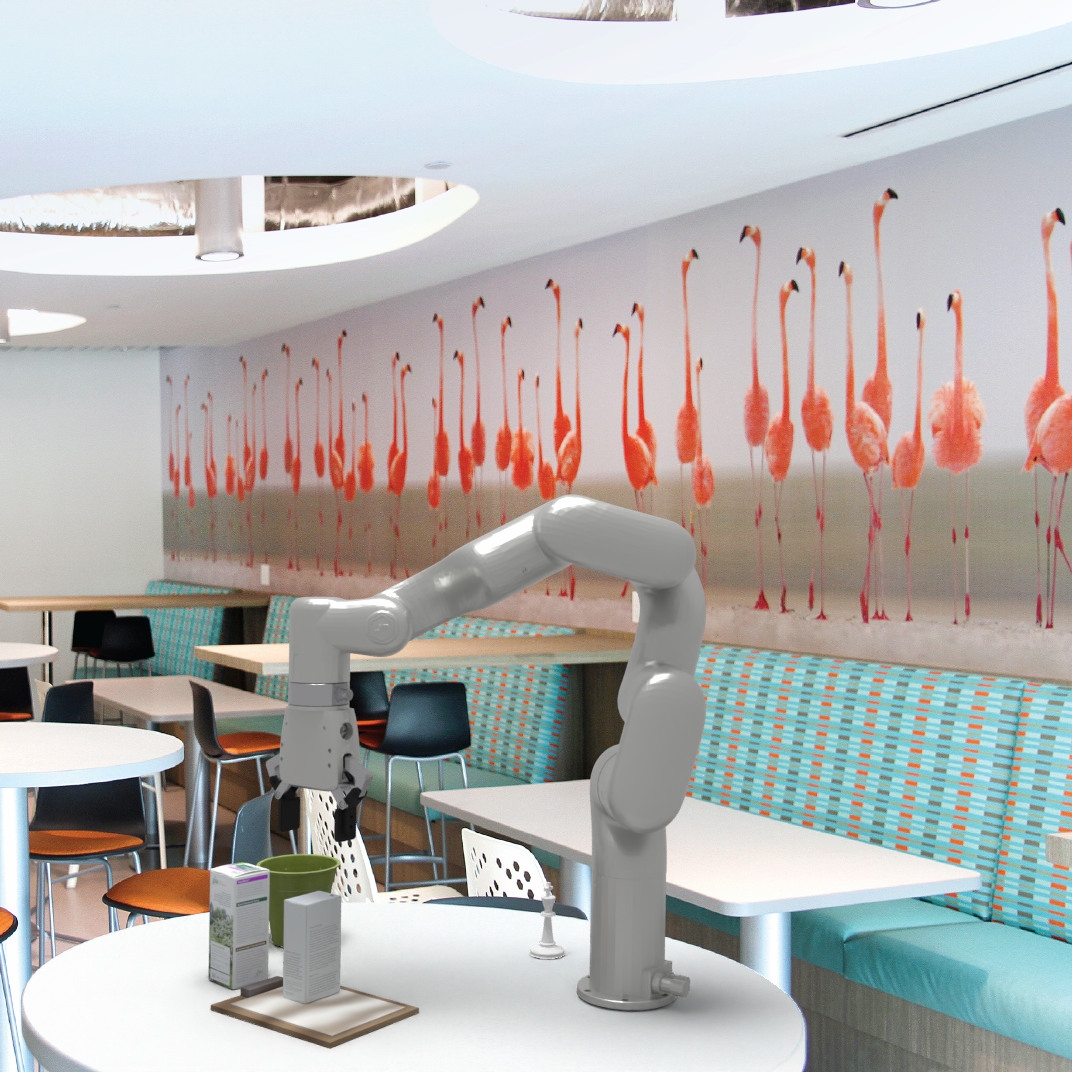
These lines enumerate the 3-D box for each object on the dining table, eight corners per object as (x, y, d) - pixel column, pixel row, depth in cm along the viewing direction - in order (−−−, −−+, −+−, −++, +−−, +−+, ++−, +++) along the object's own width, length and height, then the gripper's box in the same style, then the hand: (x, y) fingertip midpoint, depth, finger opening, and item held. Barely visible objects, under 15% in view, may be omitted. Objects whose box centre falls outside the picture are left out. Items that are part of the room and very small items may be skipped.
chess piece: (571, 953, 182) (572, 881, 182) (552, 962, 178) (554, 888, 178) (541, 947, 185) (543, 876, 185) (522, 955, 181) (524, 883, 181)
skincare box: (316, 985, 163) (319, 889, 164) (340, 992, 161) (343, 895, 161) (280, 997, 158) (282, 898, 159) (304, 1005, 156) (307, 904, 156)
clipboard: (418, 1012, 156) (419, 999, 156) (329, 1048, 144) (330, 1033, 144) (301, 979, 168) (302, 967, 168) (210, 1009, 156) (210, 996, 156)
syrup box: (270, 981, 167) (272, 867, 168) (230, 991, 163) (234, 874, 163) (244, 971, 171) (247, 860, 172) (205, 980, 167) (208, 867, 167)
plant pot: (270, 928, 192) (272, 852, 192) (348, 933, 190) (350, 855, 190) (241, 951, 180) (243, 869, 180) (324, 956, 178) (326, 874, 179)
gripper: (391, 698, 159) (389, 839, 158) (292, 690, 169) (289, 822, 169) (348, 703, 153) (346, 849, 152) (248, 693, 163) (245, 831, 162)
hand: (316, 835), depth 160 cm, fingers open, 9 cm apart
